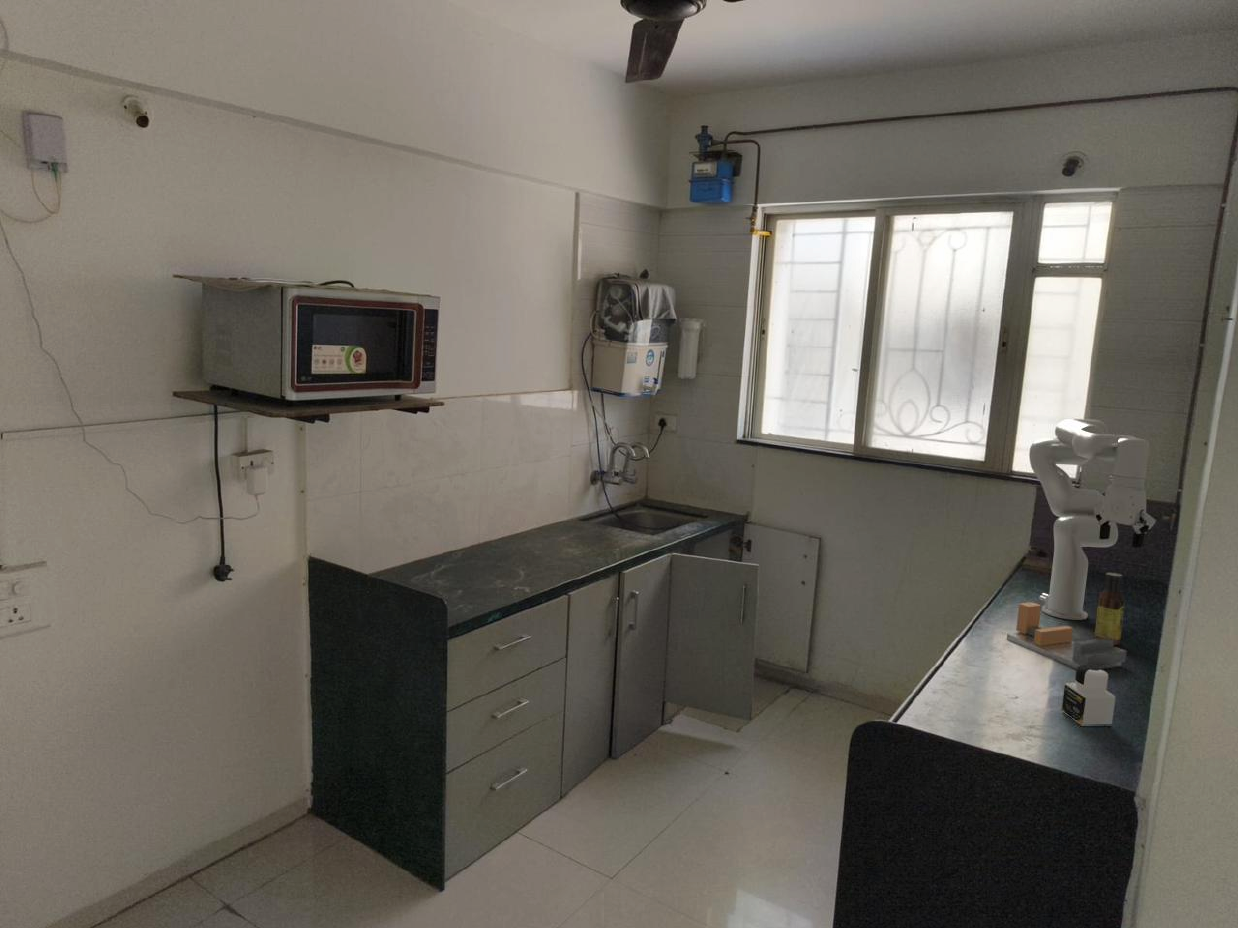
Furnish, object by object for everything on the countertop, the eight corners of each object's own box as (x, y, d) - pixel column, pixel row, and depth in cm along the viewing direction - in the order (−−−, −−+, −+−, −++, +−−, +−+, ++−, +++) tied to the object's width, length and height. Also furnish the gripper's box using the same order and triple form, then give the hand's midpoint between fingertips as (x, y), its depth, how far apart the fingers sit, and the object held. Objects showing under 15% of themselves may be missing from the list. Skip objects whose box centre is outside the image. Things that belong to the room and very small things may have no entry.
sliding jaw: (1007, 631, 226) (1010, 604, 225) (1038, 628, 230) (1041, 601, 229) (1039, 645, 216) (1043, 617, 215) (1071, 641, 220) (1075, 613, 219)
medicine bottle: (1060, 712, 179) (1066, 661, 177) (1090, 712, 179) (1096, 661, 178) (1081, 727, 172) (1088, 674, 170) (1112, 727, 172) (1119, 674, 171)
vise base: (1006, 638, 225) (1009, 616, 224) (1042, 634, 230) (1045, 612, 229) (1086, 673, 202) (1089, 649, 201) (1124, 667, 207) (1127, 643, 206)
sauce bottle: (1123, 647, 222) (1132, 578, 219) (1098, 644, 223) (1108, 576, 220) (1113, 639, 228) (1122, 572, 225) (1090, 636, 229) (1098, 570, 226)
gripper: (1089, 477, 225) (1082, 536, 228) (1149, 488, 209) (1140, 551, 212) (1108, 477, 228) (1101, 535, 230) (1168, 487, 212) (1159, 549, 214)
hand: (1120, 542), depth 221 cm, fingers open, 9 cm apart
